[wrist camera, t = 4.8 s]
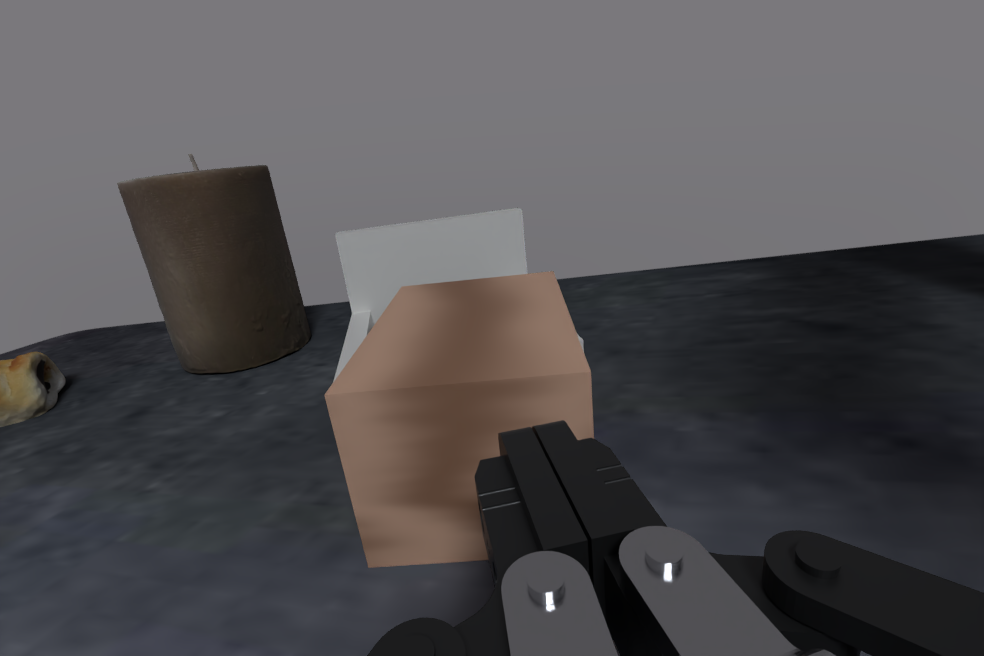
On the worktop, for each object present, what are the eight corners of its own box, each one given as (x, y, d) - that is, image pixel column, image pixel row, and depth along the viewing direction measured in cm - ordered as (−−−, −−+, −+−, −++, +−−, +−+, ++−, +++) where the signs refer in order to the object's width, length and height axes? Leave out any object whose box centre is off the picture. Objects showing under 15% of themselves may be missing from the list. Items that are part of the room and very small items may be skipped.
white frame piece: (525, 297, 45) (517, 207, 42) (584, 362, 31) (577, 234, 28) (357, 324, 43) (337, 232, 40) (338, 406, 29) (306, 273, 26)
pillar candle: (317, 353, 38) (265, 142, 33) (170, 389, 34) (87, 159, 29) (306, 321, 46) (264, 150, 41) (187, 347, 43) (126, 163, 38)
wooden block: (561, 391, 28) (553, 271, 26) (599, 556, 17) (590, 371, 15) (422, 403, 29) (401, 286, 26) (369, 571, 17) (324, 395, 15)
